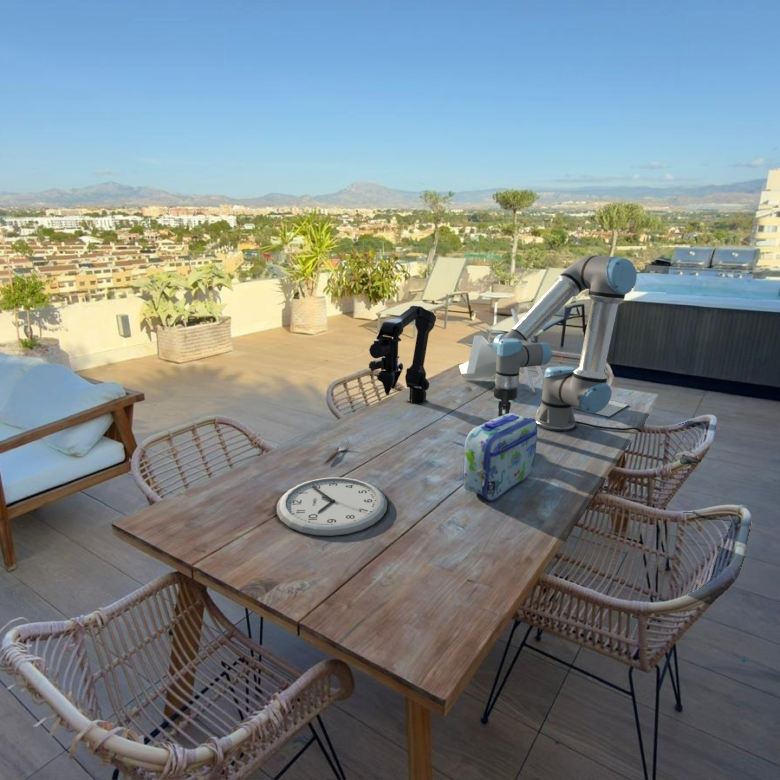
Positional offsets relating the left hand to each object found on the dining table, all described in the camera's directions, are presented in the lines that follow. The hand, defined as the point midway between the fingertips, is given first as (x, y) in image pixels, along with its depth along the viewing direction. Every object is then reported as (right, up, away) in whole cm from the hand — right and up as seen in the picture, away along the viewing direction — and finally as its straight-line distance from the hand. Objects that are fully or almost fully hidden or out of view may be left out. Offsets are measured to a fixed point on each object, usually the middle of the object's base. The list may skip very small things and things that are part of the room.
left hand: (390, 391), depth 210 cm
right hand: (+38, -20, -31) cm, 53 cm away
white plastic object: (+52, +2, +43) cm, 68 cm away
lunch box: (+32, -28, -55) cm, 70 cm away
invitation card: (+91, -7, +16) cm, 93 cm away
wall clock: (-16, -31, -67) cm, 76 cm away
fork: (-18, -21, -36) cm, 45 cm away
